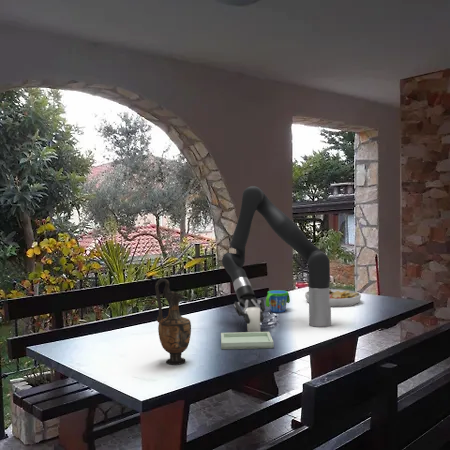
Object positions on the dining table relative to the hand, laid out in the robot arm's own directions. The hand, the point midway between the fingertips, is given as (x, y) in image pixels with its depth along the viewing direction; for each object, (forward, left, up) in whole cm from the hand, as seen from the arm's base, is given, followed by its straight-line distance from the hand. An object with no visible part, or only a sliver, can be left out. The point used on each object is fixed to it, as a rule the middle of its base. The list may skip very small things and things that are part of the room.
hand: (255, 321), depth 213 cm
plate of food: (-48, -65, -6) cm, 81 cm away
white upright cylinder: (+1, -2, -5) cm, 5 cm away
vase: (+32, +33, -6) cm, 46 cm away
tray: (+5, +12, -6) cm, 14 cm away
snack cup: (-15, -45, -6) cm, 47 cm away
